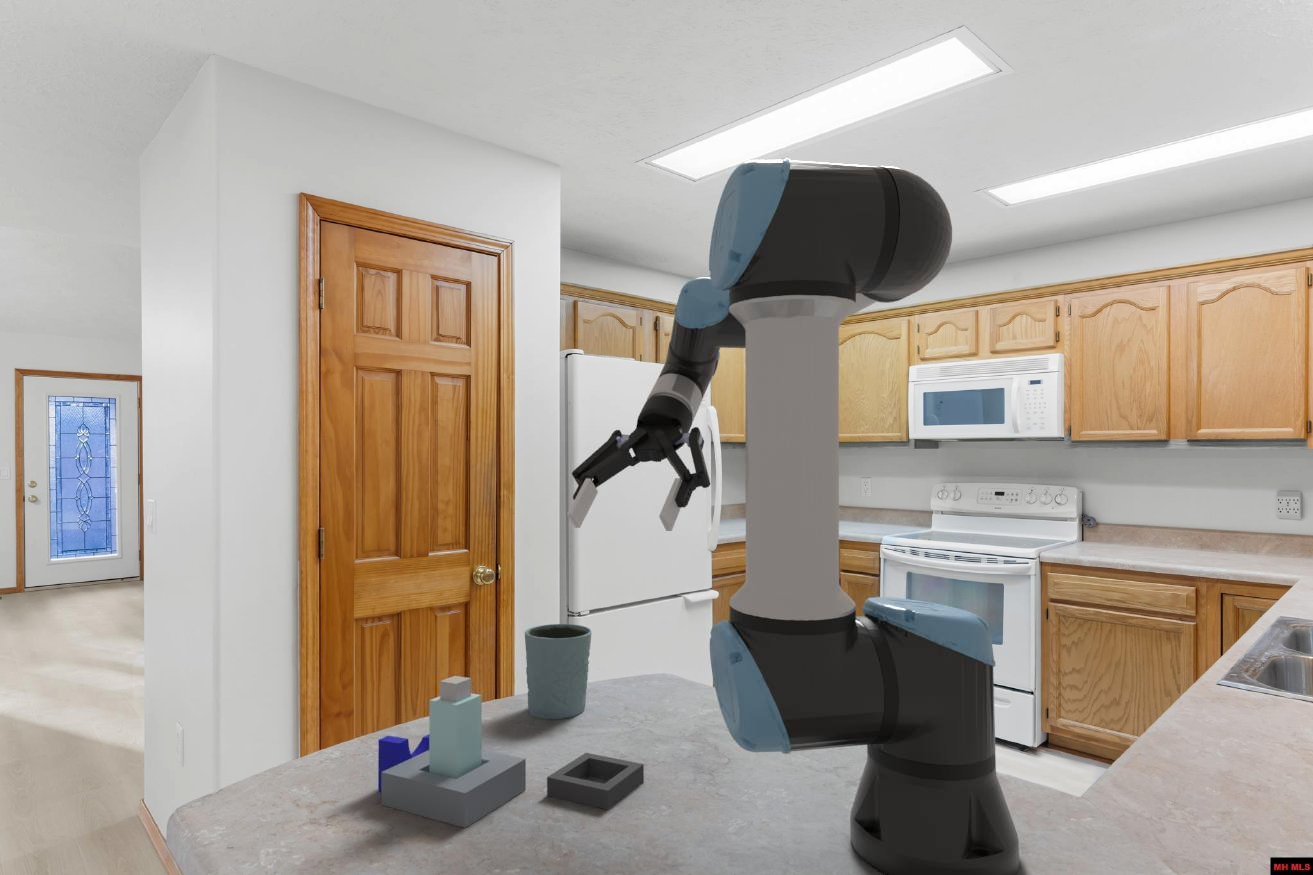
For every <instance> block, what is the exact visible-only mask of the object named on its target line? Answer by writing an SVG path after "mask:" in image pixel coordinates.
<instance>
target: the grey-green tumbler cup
mask: <svg viewBox="0 0 1313 875" xmlns="http://www.w3.org/2000/svg"><path fill="white" fill-rule="evenodd" d="M592 632H593V631H592V630H591V628H589V627H587V626H584V625H579V624H570V623H569V624H568V623H556V624H555V623H554V624H552V623H551V624H542V625H536V626H532V627H529V628H527V629H526V630H525V631H524V642H525V644H524V645H525V654H526V656H525V658H526V660H525V661H526V668H525V669H526V670H525V671H526V672H525V673H526V684H527V690H528V691H527V709H528V713H529V714H530V715H531V716H532V717H534V718H538V719H543V720H563V719H569V718H574V717H576V716H579V715H581V714H582V713H583V712H584V711H585V709H586V699H587V689H588V680H589V678H588V676H589V664H590V660H589V658H590V651H591V650H590V649H591V642H592Z"/></svg>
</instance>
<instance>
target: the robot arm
mask: <svg viewBox="0 0 1313 875" xmlns="http://www.w3.org/2000/svg"><path fill="white" fill-rule="evenodd" d="M951 220H952V219H951V215H950V212H949V210H948V208H947V205H946V203H945V201H944V199H943V198H942V197H941V195H940V194H939V192H938V191H937V190H936V189H935V188H934V187H933V185H931V184H930V183H929V182H927V181H926V180H925V179H924V178H922V177H921V176H919V175H917V174H915V173H913V172H910V171H908V170H905V169H903V168H899V167H895V166H887V165H886V166H884V165H876V166H872V165H860V164H847V163H846V164H844V163H830V162H818V161H817V162H816V161H803V160H791V159H790V158H785V157H784V158H781V159H767V160H765V159H760V160H759V159H752V160H748V161H744V162H742V163H741V164H739V165H738V166H736V168H735V169H734V170H733V171H732V173H731V174H730V175H729V178H727V181H726V184H725V186H724V188H723V190H722V193H721V196H720V199H719V203H718V206H717V210H716V213H715V218H714V221H713V227H712V230H711V238H710V239H711V240H710V246H709V257H708V258H709V259H708V269H709V273H710V274H709V276H710V277H705V276H704V277H696V278H692V279H690V280H688V281H687V282H686V283H685V284H684V285H682V288H681V290H680V292H679V295H678V298H677V302H676V306H675V308H674V317H673V324H672V330H671V336H670V341H669V344H668V348H667V354H666V359H665V362H664V365H663V368H662V370H661V371H660V373H659V375H658V377H657V379H656V382H655V383H654V385H653V387H652V389H651V391H650V392H649V394H648V396H647V398H646V401H645V403H644V405H643V407H642V408H641V410H640V412H639V415H638V417H637V420H636V427H635V429H634V430H633V431H632V432H631V433H629V434H623V433H622V431H621V430H620V429H616V430H614V431H613V432H612V433H611V435H610V436H609V438H608V439H607V441H605V442H604V443H603V444H602V445H600V447H598V448H597V450H595V451H594V452H593V453H592V454H590V456H588V457H587V458H586V459H585V460H584V461H583V462H581V463H580V464H579V465H578V466H577V467H576V468H575V469H574V470H572V472H571V475H572V477H573V479H574V480H575V482H576V484H577V488H576V489H575V491H574V494H572V499H573V502H572V504H571V506H570V507H569V509H568V511H567V513H566V515H567V517H568V519H569V520H570V522H571V523H572V525H573V527H574V528H577V529H579V528H581V526H582V524H583V522H584V521H585V519H586V516H587V515H588V513H589V511H590V508H591V506H592V505H593V503H594V501H595V499H596V497H597V495H598V493H599V490H598V487H600V486H601V485H603V484H605V483H606V482H607V481H608V480H610V479H612V478H613V477H615V476H616V475H618V474H620V473H621V472H622V471H624V470H625V469H626V468H629V467H634V466H636V465H637V464H639V463H640V462H641V463H647V462H656V463H661V462H662V461H664V460H667V461H668V462H669V464H670V466H671V467H672V468H673V470H674V471H675V473H676V474H677V476H678V478H677V477H675V478H674V480H673V483H672V485H671V487H670V490H669V492H668V494H667V497H666V499H665V502H664V504H663V506H662V509H661V511H660V513H659V516H658V517H659V519H660V522H661V524H662V526H663V527H664V529H665V531H666V532H671V531H673V528H674V526H675V524H676V521H677V518H678V516H679V513H680V512H681V508H686V507H688V504H689V502H690V500H691V496H692V494H693V491H696V489H697V488H699V487H702V488H703V489H706V488H709V487H710V486H711V480H710V477H709V472H708V469H707V464H706V461H705V460H706V459H705V457H704V454H703V448H704V444H705V440H704V436H703V434H702V433H701V430H700V427H698V426H695V427H693V428H691V427H692V425H693V422H694V420H695V417H696V416H697V413H698V411H699V409H700V407H701V404H702V402H703V399H704V396H705V394H706V391H707V390H708V387H709V385H710V383H711V381H712V379H713V377H714V375H715V374H716V371H717V368H718V365H719V360H720V356H721V355H720V349H723V348H724V349H726V348H727V349H745V581H744V583H743V585H742V586H741V587H740V588H739V589H738V590H737V591H736V592H735V593H734V594H733V595H732V596H731V597H730V598H729V619H728V620H726V619H724V620H723V619H722V620H721V621H720V622H717V623H715V624H713V626H712V627H711V630H710V638H709V656H710V657H709V658H710V665H711V666H710V667H711V674H712V678H713V684H714V689H715V693H716V698H717V702H718V705H719V709H720V711H721V714H722V715H721V716H722V718H723V720H724V723H725V726H726V728H727V730H728V732H729V734H730V736H731V737H732V739H733V740H734V741H735V743H736V744H737V745H738V746H739V747H741V748H742V749H744V750H746V751H747V752H750V753H751V752H752V753H777V752H778V753H781V754H785V755H788V754H791V752H801V751H812V750H825V749H834V748H844V747H854V746H855V747H857V746H866V748H867V749H866V753H867V754H866V763H865V764H864V768H863V772H862V775H861V778H860V780H859V785H858V787H857V791H856V794H855V797H854V801H853V803H852V806H851V810H850V817H849V819H850V820H849V822H850V823H849V824H850V827H849V828H850V830H849V831H850V832H849V833H850V841H851V844H852V847H853V849H854V851H855V853H857V854H858V855H859V856H860V858H862V859H863V860H864V861H865V862H867V863H868V864H870V865H871V866H872V867H874V868H876V869H877V870H879V871H881V872H883V873H885V874H887V875H1016V874H1017V872H1018V871H1019V867H1020V842H1019V836H1018V832H1017V829H1016V826H1015V824H1014V820H1013V818H1012V815H1011V812H1010V809H1009V807H1008V804H1007V802H1006V798H1005V795H1004V792H1003V790H1002V787H1001V784H1000V781H999V778H998V774H997V765H996V764H997V762H996V758H997V757H996V723H995V722H996V721H995V715H996V714H995V692H994V691H995V687H994V686H995V684H994V680H995V679H994V667H996V661H995V658H994V657H995V656H994V650H993V640H992V633H991V629H990V627H989V625H988V623H987V622H986V621H985V620H984V618H982V617H981V616H979V615H977V614H975V613H973V612H970V611H968V610H965V609H961V608H957V607H954V606H950V605H944V604H940V603H936V602H935V603H934V602H929V601H924V600H923V601H922V600H916V599H909V598H900V597H890V596H875V597H868V598H867V599H865V601H864V603H863V606H862V607H861V610H862V613H863V615H856V614H857V610H856V609H857V605H856V604H857V603H856V602H855V601H854V600H853V599H852V597H850V596H849V594H847V592H845V591H844V590H843V588H842V586H841V584H840V471H839V470H840V462H839V461H840V442H839V441H840V435H839V434H840V422H839V421H840V413H839V412H840V410H839V409H840V408H839V407H840V405H839V404H840V391H839V390H840V378H839V377H840V375H839V374H840V370H839V369H840V367H839V366H840V364H839V363H840V361H839V358H840V357H839V356H840V350H839V349H840V346H839V345H840V330H839V329H840V327H841V324H842V323H843V322H844V321H845V320H846V319H847V318H849V317H850V316H853V315H854V314H857V313H858V312H860V311H862V310H864V309H866V308H868V307H870V306H872V305H873V304H875V303H881V304H882V303H883V304H885V303H886V304H889V303H894V302H898V301H900V300H903V299H905V298H907V297H909V296H911V295H913V294H915V293H918V292H919V291H920V290H923V288H926V286H927V285H929V284H930V283H932V281H933V280H934V279H935V278H937V276H938V275H939V273H940V272H941V271H942V270H943V268H944V266H945V264H946V261H947V260H948V258H949V255H950V252H951V247H952V243H953V225H952V221H951ZM685 444H686V445H687V447H688V448H689V449H690V453H691V458H692V462H693V467H694V470H695V472H694V473H691V471H690V469H689V468H688V467H687V466H686V464H685V462H684V461H683V460H682V458H681V457H680V455H679V454H678V453H677V451H678V450H680V449H681V448H682V447H683V446H684V445H685ZM631 449H632V451H633V453H634V456H632V454H631V452H630V450H631Z"/></svg>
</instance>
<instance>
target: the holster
mask: <svg viewBox="0 0 1313 875" xmlns="http://www.w3.org/2000/svg"><path fill="white" fill-rule="evenodd" d="M644 768H645V766H644V763H640V762H635V761H631V760H630V761H629V760H626V759H625V760H624V759H620V758H617V757H616V758H615V757H609V756H605V755H600V754H596V753H589V752H584V753H583V754H582V755H580V756H578V757H577V758H575V759H574V760H572V761H570V762H569V763H567V764H566V765H564V766H562V767H561V768H559V769H558V770H556V771H554V772H553V773H551V774H550V775H548V776H546V793H547V794H546V796H549V797H553V798H557V799H562V800H566V801H570V802H573V803H578V804H582V805H583V804H584V805H587V806H591V807H595V808H600V809H603V810H606V811H607V810H610V809H611V808H612V807H613V806H615V805H616V804H617V803H618V802H620V801H621V800H622V799H623V798H625V797H626V796H627V795H629V794H630V793H631V792H632V791H634V790H635V789H636V788H638V787H639V786H641V785H642V783H643V782H645V779H644V778H645V775H644V774H645V773H644V772H645V769H644ZM589 776H593V777H598V778H602V779H605V780H607V782H605V783H602V782H597V781H593V780H592V781H591V780H587V779H585V778H587V777H589Z"/></svg>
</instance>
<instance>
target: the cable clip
mask: <svg viewBox="0 0 1313 875" xmlns="http://www.w3.org/2000/svg"><path fill="white" fill-rule="evenodd" d="M428 750H429V734H427V735H424V736H422V738H421V740H420V742H419V743H418V745H417V747H416V748H415V749H414V750H413V751H412V752H411V751H410V744H409V738H405V737H398V736H393V735H386V736H384V737H382V738H380V739H378V750H377V752H378V755H377V756H378V757H377V758H378V759H377V760H378V761H377V762H378V763H377V764H378V765H377V766H378V772H377V774H378V775H377V776H378V781H377V782H378V785H377V786H378V787H377V788H378V790H377V791H378V792H379V793H381V772H383V771H385V770H387V769H389V768H391V767H393V766H396V765H398V764H400V763H402V762H404V761H406V760H408V759H411V758H413V757H415V756H417V755H419V754H421V753H424V752H426V751H428Z"/></svg>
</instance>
